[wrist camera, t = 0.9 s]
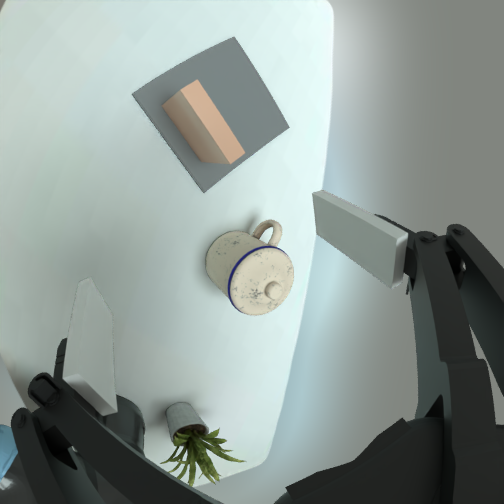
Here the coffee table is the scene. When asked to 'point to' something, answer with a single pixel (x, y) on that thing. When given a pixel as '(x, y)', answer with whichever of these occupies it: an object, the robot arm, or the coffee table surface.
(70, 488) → the robot arm
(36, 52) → the coffee table surface
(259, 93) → the mat
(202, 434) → the house plant
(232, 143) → the tile
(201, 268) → the coffee table surface
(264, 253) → the teacup with lid
